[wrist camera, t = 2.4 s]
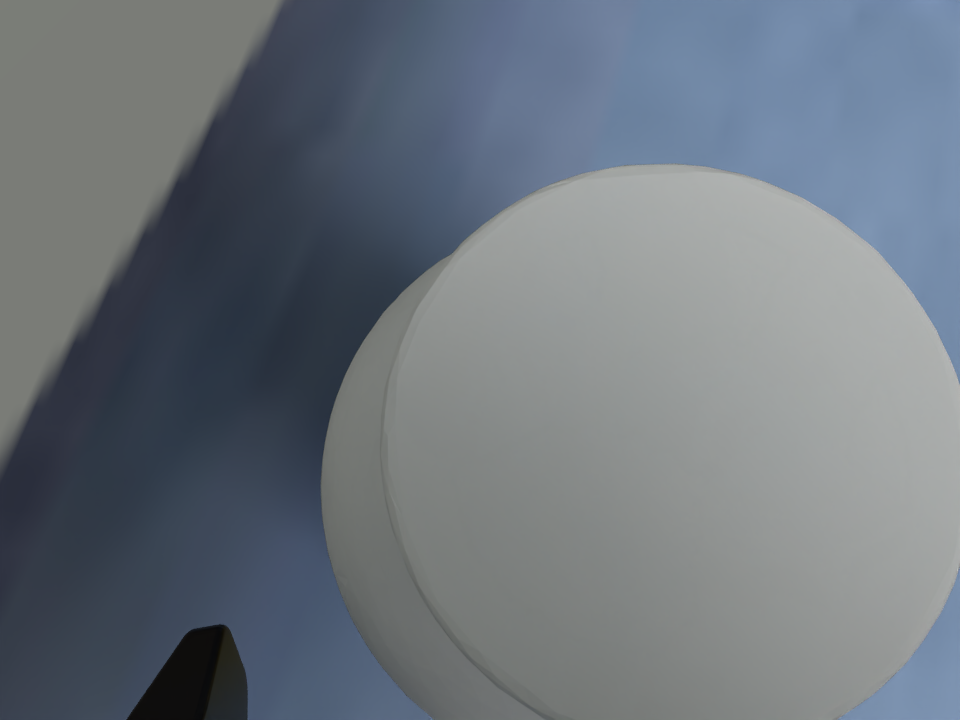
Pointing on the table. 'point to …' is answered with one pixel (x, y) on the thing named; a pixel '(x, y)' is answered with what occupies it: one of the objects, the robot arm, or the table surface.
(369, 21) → the table surface
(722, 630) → the supplement bottle
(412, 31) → the table surface
